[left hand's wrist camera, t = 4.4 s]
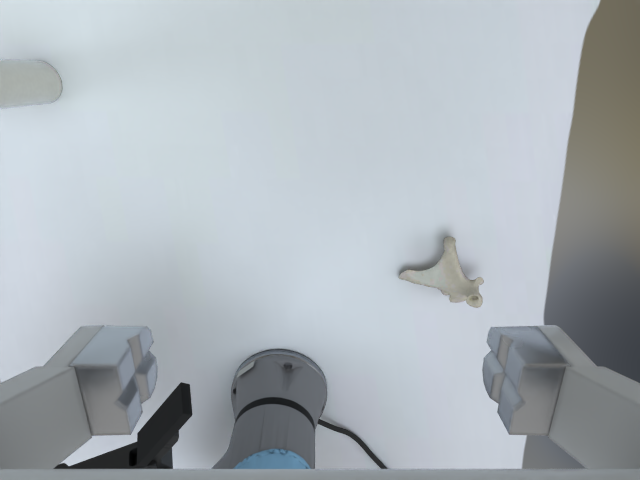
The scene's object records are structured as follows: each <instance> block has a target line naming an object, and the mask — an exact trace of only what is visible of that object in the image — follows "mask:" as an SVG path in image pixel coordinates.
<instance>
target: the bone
mask: <svg viewBox="0 0 640 480" xmlns="http://www.w3.org/2000/svg"><path fill="white" fill-rule="evenodd" d="M455 242H456V240H455V238H453V237H446V238H445V239H444V249H445V250H444V253H443V255H442V257H441V259H440V260H439V261H438V263H437V264H436V265H435V266H433V267H432V268H430V269H427V270H422V271H414V270H410V269H408V270H406V271H404V272H402V273H401V274H400V275H399V278H400V279H403V280H407V281H410V282H412V283H416V284H420V285H425V286H429V287H434V288H437V289H440V290H441V292H442V294H443V295H450V298H449V300H450V302H452V303H458V302H463V301H465V300H466V302H467V304H468V305H470V306H472V307H475V308H478V307H480V306H481V305H482V296H481V295H480V293H479V290H478V287H479V285H481V284H483V282H484V281H483V279H482V278H481V277H479V278H477V279H475V280H469V279H468V278H467V277H466V276H465V275H464V273H463V271H462V269H461V267H460V264H459V261H458V257H457V252H456V247H455Z"/></svg>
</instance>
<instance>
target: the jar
mask: <svg viewBox="0 0 640 480" xmlns="http://www.w3.org/2000/svg"><path fill="white" fill-rule="evenodd" d="M61 92H62V82H61V79H60V76H59V74H58V73H57V71H56V70H55V69H54V68H53V67H52V66H51V65H49V64H48V63H46V62H43V61H39V60H16V59H0V109H7V108H16V107H24V106H32V105H41V104H49V103H52V102H54V101H56V100H57V99H58V98H59V96H60V94H61Z"/></svg>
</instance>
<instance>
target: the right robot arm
mask: <svg viewBox="0 0 640 480" xmlns="http://www.w3.org/2000/svg"><path fill="white" fill-rule="evenodd" d="M231 399H232V405H233V411H234V416H235V425H234V429H233V433H232V437H231V441H230V445H229V448H228V450H227V452H226V453H225V455H224V456H223V457H222V458H221V459H220V460H219V461H218V462H217V463H216V465H215V466H214V467H213V468H212V469H315V428H316V426H317V423H318V424H320V425H322V426H324V427H327V428H329V429H331V430H334V431H337V432H340V433H343V434H346V435H348V436H350V437H351V438H352V439H354V440H355V441H356V442H357V443H358V444H359V445H360V446H361V447H362V448H363V449H364V450H365V452H366V453H367V454H368V455H369V456H370V457H371V458H372V460H373V461H374V462H375V463H376V464H377V465H378V466H379V467H380V468H381V469H387V468H386V467H385V466H384V465H383V464H382V463H381V462H380V460H379V459H378V458H377V457H376V456H375V455H374V454H373V453H372V452H371V451H370V450H369V448H368V447H367V446H366V445H365V444H364V443H363V441H362V440H361V439H359V438H358V437H357V436H356V435H355V434H353V433H352V432H350V431H348V430H346V429H343V428H340V427H337V426H334V425H332V424H329V423H327V422H325V421H322V420H320V419H319V418H320V416H321V415H322V413H323V411H324V408H325V405H326V400H327V384H326V380H325V377H324V375H323V373H322V371H321V370H320V368H319V367H318V366H317V365H316V364H315V363H314V362H313V361H312V360H310V359H309V358H307V357H305V356H304V355H301V354H299V353H296V352H293V351H288V350H269V351H264V352H261V353H258V354H256V355H254V356H252V357H250V358H249V359H247V360H246V361H245V362H244V363H243V364H242V365H241V366H240V367H239V369H238V370H237V372H236V374H235V377H234V380H233V384H232V389H231ZM191 416H192V405H191V394H190V384H186V383H180V384H179V385H178V386H177V388H176V389H175V390H174V391H173V392H172V394H171V395H170V396H169V397H168V398H167V399H166V401H165V402H164V403H163V404H162V405H161V406H160V408H159V409H158V410H157V411H156V412H155V413H154V415H153V416H152V417H151V418H150V419H149V420H148V422H147V423H146V424H145V425H144V426H143V428H142V429H141V430H140V431H139V432H138V438H137V442H135V443H132V444H129V445H127V446H124V447H121V448H118V449H116V450H113V451H110V452H107V453H105V454H102V455H99V456H97V457H94V458H91V459H88V460H86V461H83V462H80V463H77V464H75V465H72V466H68V465H66V464H65V463H62V464H59V465H57V466H56V467H55V468H53V469H173V463H172V447H173V445H174V444H175V443H176V442H177V441H178V438H179V429H180V428H181V427H182V426H183V425H184V424H185V423H186V422H187V420H188V419H189V418H190V417H191Z"/></svg>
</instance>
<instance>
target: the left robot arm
mask: <svg viewBox="0 0 640 480" xmlns="http://www.w3.org/2000/svg"><path fill="white" fill-rule="evenodd" d="M152 344H153V338H152V333H151V330H150V329H149V328H148V327H147V326H104V325H95V326H83V327H80V328H79V329H78V330H77V331H76V332H75V333H74V334H73V335H72V337H71V338H70V339H69V340H68V341H67V342H66V343H65V344H64V345H63V346H62V347H61V348H60V349H59V350H58V351H57V352H56V353H55V354H54V356H53V357H52V358H51V359H50V360H49V361H48V362H47V363H46V364H45V365H44V366H43V367H34V368H32V369H30V370H28V371H26V372H24V373H21V374H19V375H17V376H15V377H13V378H11V379H9V380H6V381H4V382H2V383H0V480H640V383H638V382H636V381H633V380H631V379H629V378H627V377H625V376H623V375H621V374H619V373H616V372H614V371H612V370H610V369H608V368H606V367H597V366H596V365H595V364H594V363H593V362H592V361H591V360H590V359H589V358H588V357H587V355H586V354H585V353H584V352H583V351H582V350H581V349H580V348H579V347H578V346H577V345H576V344H575V343H574V342H573V341H572V340H571V339H570V338H569V336H568V335H567V334H566V333H565V332H564V331H563V330H562V329H561V328H560V327H558V326H555V325H546V326H519V327H491V328H490V330H489V333H488V337H487V344H488V345H489V347H490V349H491V351H490V352H489V353H488V354H487V355H486V356H485V357H484V362H483V381H484V385H485V388H486V391H487V393H488V395H489V397H490V398H491V399H492V400H494V401H495V402H497V403H498V404H499V406H498V411H497V412H498V414H499V416H500V418H501V420H502V422H503V424H504V426H505V427H506V429H507V431H508V433H509V435H545V436H548V438H550V439H551V440H552V441H553V442H555V443H556V444H557V445H558V446H559V447H561V448H562V449H563V450H565V451H566V452H567V453H568V454H569V455H571V456H572V457H573V458H574V459H576V460H577V461H578V462H579V463H581V464H582V465H583V466H584V467H585V468H587V469H53V468H55V467H56V466H57V465H58V464H60V463H61V462H62V461H63V460H65V459H66V458H67V457H68V456H70V455H71V454H72V453H73V452H75V451H76V450H77V449H78V448H79V447H81V446H82V445H83V444H84V443H86V442H87V441H88V440H89V439H91V438H92V436H96V435H131V433H132V431H133V429H134V427H135V426H136V424H137V422H138V420H139V418H140V416H141V414H142V412H143V411H142V406H141V404H142V403H143V402H145V401H146V400H148V399H149V398H150V397H151V395H152V393H153V391H154V389H155V384H156V380H157V361H156V357H155V356H154V355H153V354H152V353H151V352H150V351H149V349H150V347H151V345H152Z"/></svg>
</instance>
